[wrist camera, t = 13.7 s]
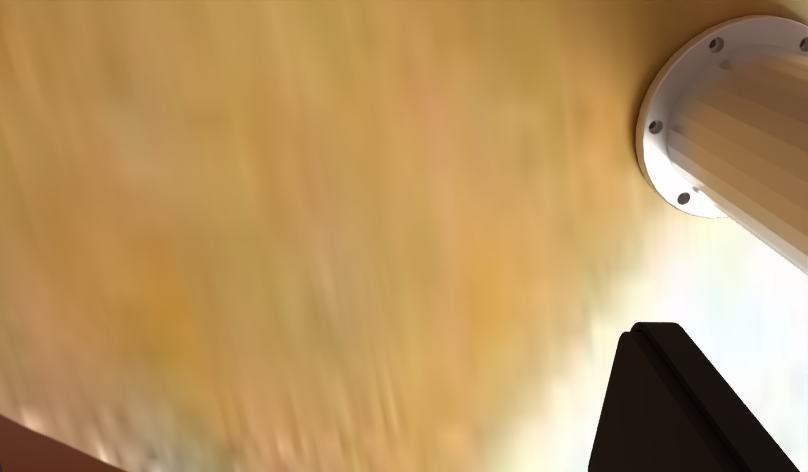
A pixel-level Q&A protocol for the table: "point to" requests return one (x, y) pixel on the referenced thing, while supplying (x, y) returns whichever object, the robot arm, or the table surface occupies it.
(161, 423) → the table surface
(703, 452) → the robot arm
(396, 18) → the table surface
